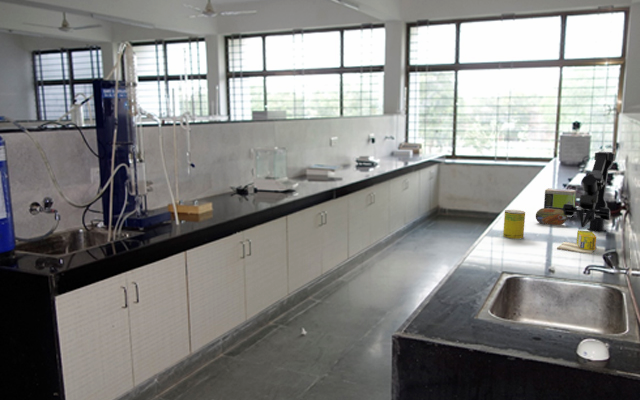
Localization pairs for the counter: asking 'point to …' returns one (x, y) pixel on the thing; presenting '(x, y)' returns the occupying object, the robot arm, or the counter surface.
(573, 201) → the tea box
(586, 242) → the supplement box
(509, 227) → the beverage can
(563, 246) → the birch board
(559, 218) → the tin
